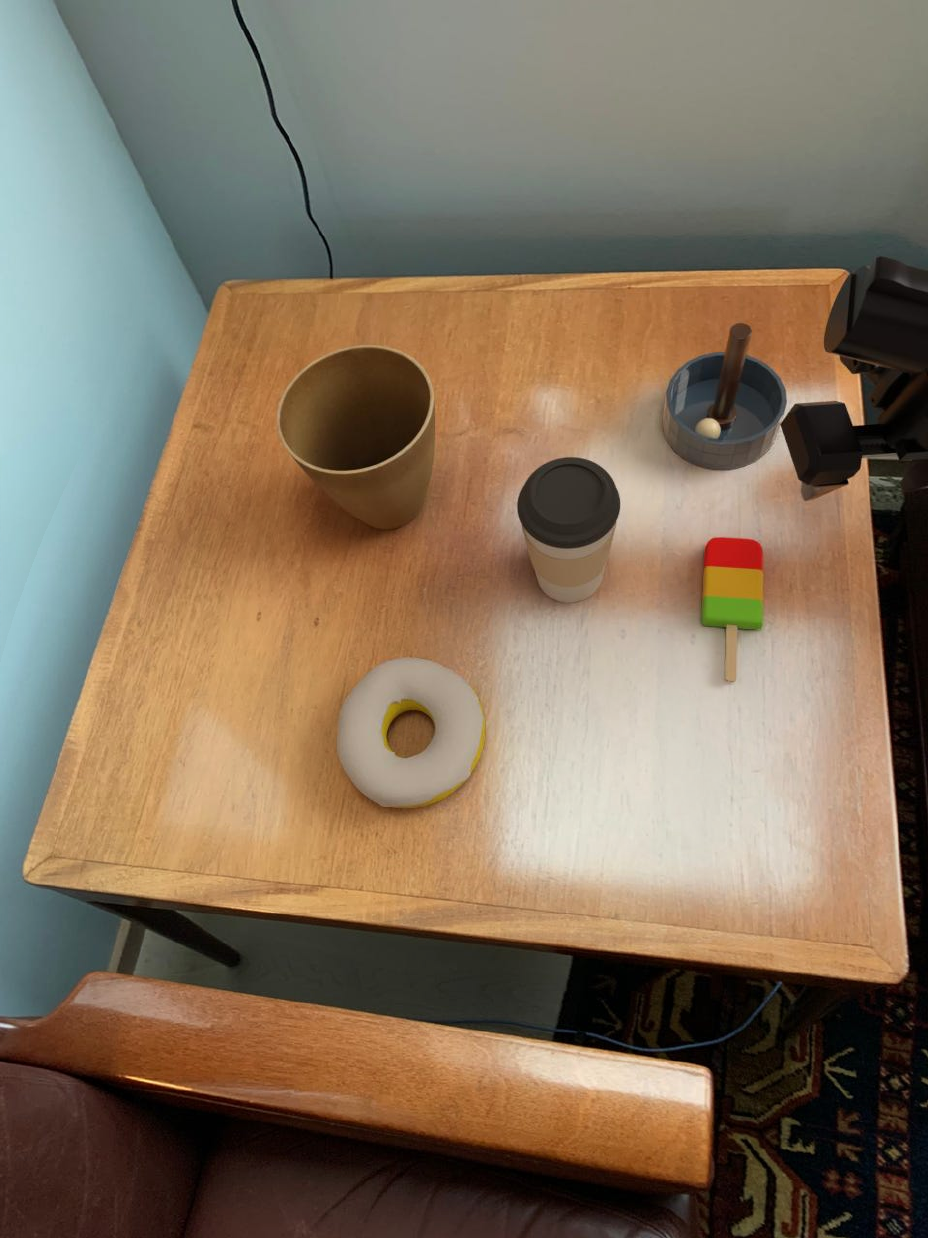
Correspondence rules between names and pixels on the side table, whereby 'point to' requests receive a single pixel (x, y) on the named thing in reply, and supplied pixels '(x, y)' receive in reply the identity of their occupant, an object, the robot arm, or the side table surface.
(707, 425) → the ball
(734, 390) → the stirring stick
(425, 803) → the donut
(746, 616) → the popsicle
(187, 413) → the side table surface
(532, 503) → the coffee cup
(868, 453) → the robot arm
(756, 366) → the bowl
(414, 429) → the plant pot
